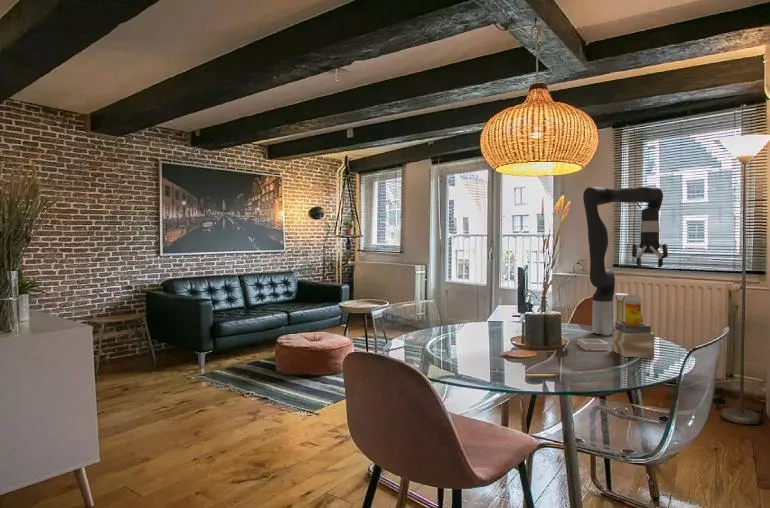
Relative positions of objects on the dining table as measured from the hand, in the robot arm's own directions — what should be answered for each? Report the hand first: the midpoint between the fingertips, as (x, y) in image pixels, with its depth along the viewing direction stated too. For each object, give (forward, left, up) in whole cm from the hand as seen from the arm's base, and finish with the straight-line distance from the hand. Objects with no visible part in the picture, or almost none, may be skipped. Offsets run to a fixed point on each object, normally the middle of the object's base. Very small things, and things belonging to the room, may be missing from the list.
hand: (649, 266), depth 220 cm
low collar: (+4, -27, -36) cm, 45 cm away
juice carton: (-38, +5, -36) cm, 53 cm away
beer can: (+16, -15, -26) cm, 34 cm away
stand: (+16, -15, -36) cm, 42 cm away
